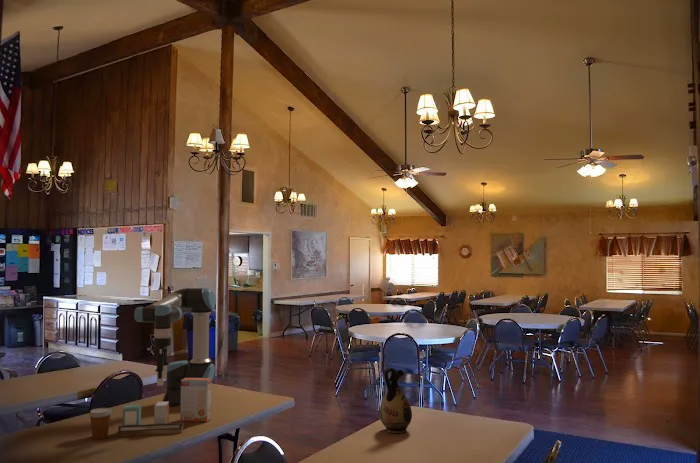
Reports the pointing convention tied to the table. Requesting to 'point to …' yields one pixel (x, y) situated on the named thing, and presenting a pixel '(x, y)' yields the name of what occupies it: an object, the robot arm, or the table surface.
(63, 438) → the table surface
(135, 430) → the shelf board
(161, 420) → the small box
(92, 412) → the disposable coffee cup
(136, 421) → the tea box
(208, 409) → the cracker box
